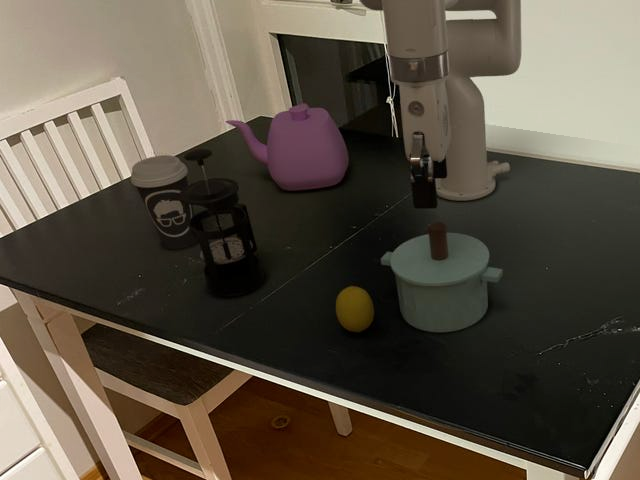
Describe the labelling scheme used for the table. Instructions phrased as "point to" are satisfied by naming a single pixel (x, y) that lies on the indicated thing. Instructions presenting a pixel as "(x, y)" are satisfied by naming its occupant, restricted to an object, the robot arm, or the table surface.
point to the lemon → (354, 309)
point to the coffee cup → (165, 198)
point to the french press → (223, 233)
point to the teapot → (300, 148)
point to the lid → (439, 258)
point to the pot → (444, 301)
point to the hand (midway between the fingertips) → (431, 192)
